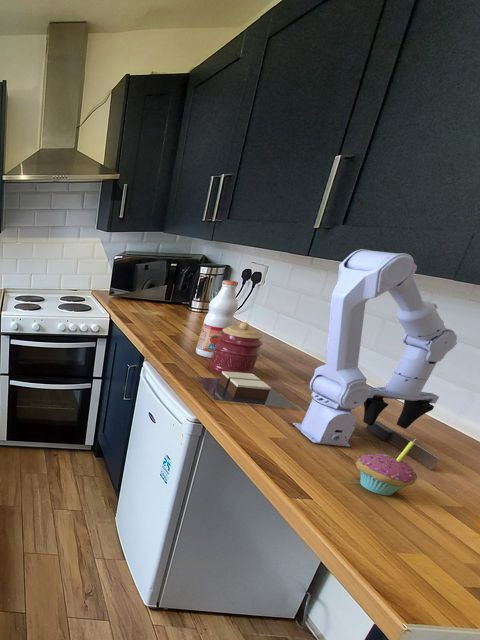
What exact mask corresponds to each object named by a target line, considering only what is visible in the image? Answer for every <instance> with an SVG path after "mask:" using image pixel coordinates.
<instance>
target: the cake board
mask: <svg viewBox="0 0 480 640" xmlns="http://www.w3.org/2000/svg"><path fill="white" fill-rule="evenodd" d="M193 378H194V380H195V381H196V382H197V383H198V384H199V385H200V386H201V387H202V388H203V389H204V390H205V391H206V392H207V394H209V395H210V397H211V398H212V399H213V400H214V401H216V402H217V401H219V402H227V403H239V404H248V405H249V404H250V405H260V406H271V407H282V408H293V409H298V406H296V405H295V404H293V403H292V402H291V401H290V400H288V399H287V398H286V397H284V396H283V395H282V394H280V393H279V392H278V391H277V390H275V389H274V388H273V387H271V386H270V385H268V386H269V387H271V389H270V392H269V395H268V397H267V400H261V399H250V398H239V397H233V396H232V395H231V394H230V393H229V392H228V391H227V389H225V388H224V387H223V386H222V385H221V384H220V383H219V380H220V378H216V377H214V378H213V377H205V376H203V377H202V376H193Z"/></svg>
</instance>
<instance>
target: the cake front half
mask: <svg viewBox="0 0 480 640" xmlns="http://www.w3.org/2000/svg"><path fill="white" fill-rule="evenodd" d="M269 386H270V385H268V384H267V383H266V382H264V381H263V380H260V381H254V380H242V379H230V382H229V385H228V388H227V391H228V392H229V393H230V394H231V395H232V396H233V397H239V398H250V399H261V400H267V397H268V395H269V392H270V389H271V388H272V387H271V386H270V387H269Z"/></svg>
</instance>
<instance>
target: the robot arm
mask: <svg viewBox="0 0 480 640" xmlns="http://www.w3.org/2000/svg"><path fill="white" fill-rule="evenodd" d="M417 269H418V265H417V264H416V263H415V260H414V257H413V256H412V255H410V254H409V253H406V252H405V253H403V252H401V253H396V252H389V251H388V252H387V251H378V250H370V249H366V248H361V249H357V250H355V251H353V252H351V253H350V254H349V255H348V256H347V257H346V258H345V259H343V261H341V263H339V264H338V274H337V282H336V284H335V286H334V289H333V290H332V294H331V297H330V307H329V308H330V309H329V320H328V331H327V344H326V356H325V364H322V365H320V366H318V367H316V368H315V369H314V374H313V377H312V378H311V380H310V382H309V389H310V391H311V394H310V396H311V397H312V399H311V401H310V404H309V405H308V408H307V411H306V413H305V415H304V417H303V420H302V422H301V423H300V422H292V425H294V426H295V427H296V428H297V429H298V431H299V432H300V433H302V435H304V436H305V437H306V438H307V439H309V440H310V441H311V442H312V443H314V444H317V445H318V444H320V445H329V446H330V445H331V446H339V447H349V448H350V447H351V444H350V443H349V441H350V438H351V436H353V435H352V434H353V432H354V431H355V429H356V427H357V424H358V422H357V421H358V420H357V418H356V416H355V415H354V414H353V413H352V410H355V409H356V408H359V407H360V406H363V409H364V411H363V420H362V422H363V423H364V424H366V425H373V424H374V423H375V421H377V419H378V417H379V416H380V414H381V413H382V412H383V411H384V410H385V409H386V408H387V407H389V403H388V402H386V401H385V400H384V399H390V400H399V401H400V400H401V401H404V402H403V406H402V410H401V413H400V415H399V416H398V418H397V422H396V425H397V426H398V427H400V428H402V429H404V430H405V429H407V428H409V427H410V426H411V425H412V424H413V423H415V422H416V421H417V420H418V419H419V418H421V417H422V416H423V415H425V414H427V413H429V412H431V411H433V410H434V408H435V406H434V405H435V404H436V403H437V402H438V400H439V398H440V395H437V394H435V393H433V392H426V391H423V389H424V387H425V385H426V384H427V382H428V380H429V378H430V376H431V375H432V373H433V371H434V369H435V367H436V365H437V364H438V362H441V361H442V360H443V359H444V358H445V356H446V355H447V353H449V352H451V351H452V350H453V349H454V348H455V347H456V345H457V344H458V340H457V339H458V336H457V334H456V332H455V331H454V330H452V329H450V328H447V327H446V325H445V324H444V323H445V322H444V320H443V319H442V317H441V316H440V315H439V311H438V310H437V309H438V305H437V304H436V303H433V302H431V301H428V300H424V299H423V297H422V294H421V291H420V289H419V286H418V284H417V281H416V279H415V276H414V275H415V273H416V271H417ZM386 292H388V293H389V295H390V296H391V297H392V299H393V300H394V302H395V303H396V305H398V308H399V309H398V310H397V312H396V317H397V319H398V321H399V324H401V326H402V328H403V336H402V343H404V344H405V345H406V347H405V349H404V351H403V353H402V355H401V356H400V359H399V361H398V363H397V365H396V367H395V368H394V371H393V372H392V375H391V377H390V379H389V381H388V383H387V384H385V385H384V386H381V387H368V386H367V378H366V376H365V374H364V373H363V372H362V371H361V370H360V368H359V361H360V360H359V359H360V351H361V344H362V343H361V342H362V336H363V334H362V333H363V327H364V319H365V318H364V317H365V312H366V311H365V309H366V303H367V302H368V301H369V300H370V299H374V298H378V297H379V296H381V295H383V294H385V293H386ZM433 404H434V405H433Z"/></svg>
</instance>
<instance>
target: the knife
mask: <svg viewBox="0 0 480 640" xmlns="http://www.w3.org/2000/svg"><path fill="white" fill-rule="evenodd" d="M365 430H367V431H368V432H370V433H371V434H373V435H375V436H376V437H377V438H379V439H381V440H382V441H383V442H388V443H389V444H391V445H393V446H394V447H396V448H397V449H399V450H400V451H402V452H403V450H404V449H405V448H406V446H407V445H408V444H409V443H410V442H413V440H411V439H409V438H407V437H406V436H404V435H402V434H401V433H400V432H397V431H395V430H393V429H391V428H390V427H389V426H387V425H386V424H384V423H382V422H381V421H379V420H376V421H375V423H374V424H373V425H368V424H366V427H365ZM406 455H407V456H409V457H411V458H413V460H415V461H417V462H419V463H420V464H421V465H423V466H425V467H426V468H428V469H429V470H431V471H433V470H434V469H435V467H436V465H437V464H438V463H439V461H440V458H439V457H438V456H437V455H434V454H433V453H431V452H430V451H427V449H425V448H423V447H422V446H420V445H418V444H417V443H415V444H414V445H413V446H412V448H411V449H410V450H409V451H408V453H407V454H406Z"/></svg>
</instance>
